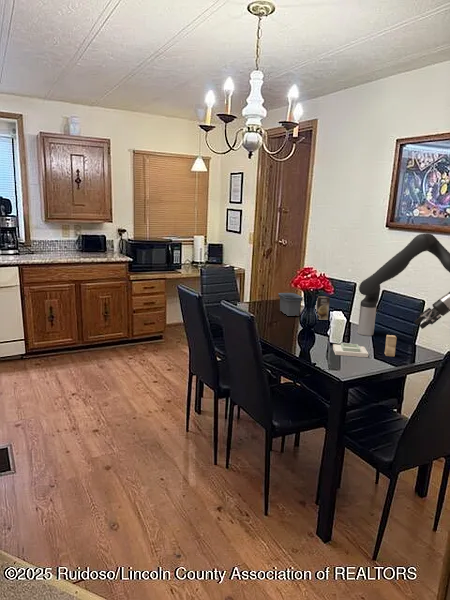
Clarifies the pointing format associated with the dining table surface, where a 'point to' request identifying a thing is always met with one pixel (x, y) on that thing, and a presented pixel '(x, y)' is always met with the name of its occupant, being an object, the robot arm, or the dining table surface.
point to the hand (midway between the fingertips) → (418, 325)
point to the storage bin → (290, 303)
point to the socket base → (350, 350)
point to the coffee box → (322, 307)
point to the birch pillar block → (390, 345)
